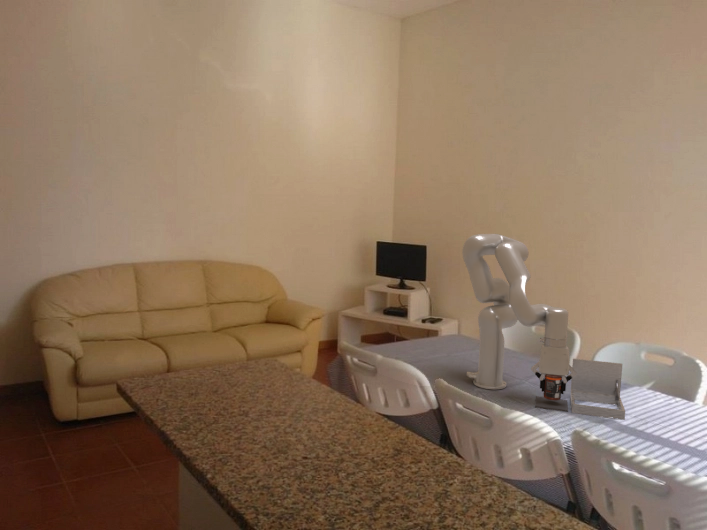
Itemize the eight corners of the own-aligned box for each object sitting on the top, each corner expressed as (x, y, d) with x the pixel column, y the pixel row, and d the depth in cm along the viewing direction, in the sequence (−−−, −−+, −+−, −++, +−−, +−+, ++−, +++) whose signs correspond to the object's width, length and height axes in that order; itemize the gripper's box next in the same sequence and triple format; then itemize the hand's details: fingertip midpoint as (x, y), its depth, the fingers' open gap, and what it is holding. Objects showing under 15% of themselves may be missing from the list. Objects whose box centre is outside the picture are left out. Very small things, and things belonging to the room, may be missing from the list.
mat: (534, 407, 200) (535, 405, 200) (535, 397, 210) (535, 396, 210) (568, 411, 196) (568, 410, 196) (567, 401, 207) (567, 400, 207)
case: (571, 412, 196) (574, 370, 194) (570, 396, 212) (572, 357, 210) (624, 419, 190) (628, 376, 189) (618, 402, 207) (621, 362, 205)
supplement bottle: (562, 401, 199) (563, 370, 198) (544, 400, 201) (546, 369, 199) (559, 396, 205) (561, 365, 204) (542, 394, 206) (543, 364, 205)
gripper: (529, 342, 200) (526, 391, 202) (582, 347, 194) (578, 398, 196) (530, 337, 207) (527, 385, 209) (580, 342, 202) (577, 391, 203)
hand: (552, 391), depth 203 cm, fingers closed on supplement bottle, 6 cm apart
